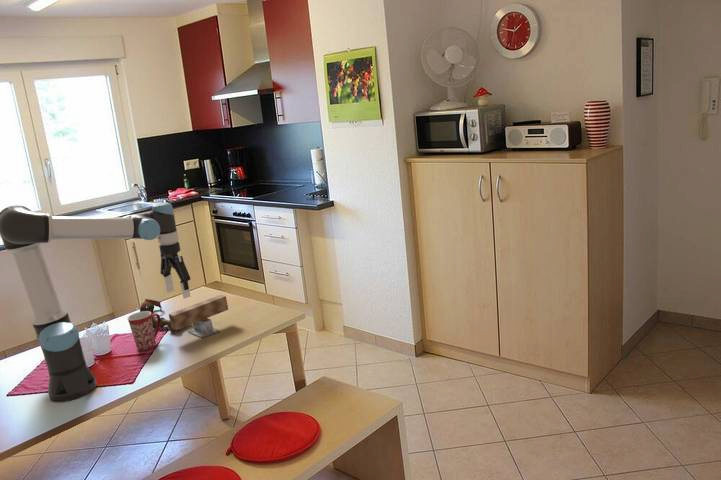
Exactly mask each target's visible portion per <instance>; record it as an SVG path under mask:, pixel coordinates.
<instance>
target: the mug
mask: <svg viewBox="0 0 721 480" xmlns="http://www.w3.org/2000/svg"><path fill="white" fill-rule="evenodd" d="M153 317H157V319H158V322H157V327H156V328H155V329H153V324H152V320H153ZM161 318H162V317H161V316H160V314H159V313H155V312H153V314H152V315H151V312H149V311H142V312H140V311H138V312H136V313H132V314H130V315H129V316H128V317H127V318H126V319H127V321H128V323H129V326H130V331H131V333H132V336H133V337H132V338H133V339H134V343H135V345H136V347H135V348H136V349H137V351H141V350H142V351H147V350H151V349H152V348H154V347H155V346H156V345H157V341H156V338H157V335H158V333H159V330H160V324H161Z"/></svg>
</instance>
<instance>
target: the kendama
mask: <svg viewBox="0 0 721 480" xmlns="http://www.w3.org/2000/svg"><path fill="white" fill-rule="evenodd" d="M160 318H161V324H160V328H161V329H163V328H164V327H165V326H166V327H167V329H168V331H169V332H171V333H173V334H174V333H175V334H177V333H178V332H179V330H180V329H178V330H175V329H173V328H171V323H170V319H167V318H165V317H160ZM157 322H158V319H157V316H154V317H153V320H152V324H153V330H155V329H156V327H157ZM160 328H159V329H160Z"/></svg>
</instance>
